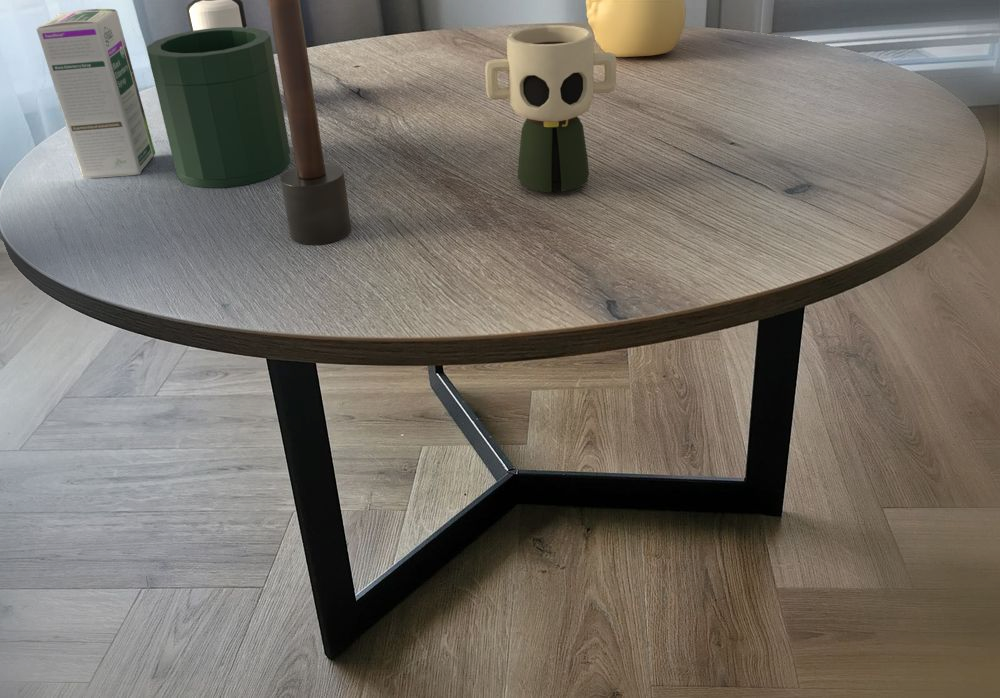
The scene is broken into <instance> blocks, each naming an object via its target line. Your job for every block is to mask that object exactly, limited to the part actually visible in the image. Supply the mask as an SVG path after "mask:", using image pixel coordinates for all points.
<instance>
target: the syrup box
mask: <svg viewBox="0 0 1000 698" xmlns="http://www.w3.org/2000/svg"><path fill="white" fill-rule="evenodd" d="M35 30H36V32H37V35H38V39H39V41H40V45H41V48H42V52H43V54H44V58H45V61H46V65H47V68H48V71H49V74H50V78H51V80H52V84H53V87H54V90H55V93H56V96H57V100H58V104H59V107H60V109H61V112H62V117H63V120H64V122H65V124H66V125H65V126H66V129H67V132H68V136H69V138H70V141H71V145H72V148H73V152H74V154H75V157H76V160H77V163H78V167H79V170H80V174H81V176H82V177H83V178H85V179H86V178H87V179H89V178H90V179H91V178H93V179H94V178H96V179H97V178H98V179H99V178H100V179H101V178H112V177H113V178H115V177H125V176H127V177H128V176H135V175H140V174H142V170H143V169H145V167H146V166H147V165H148V164H149V162H150V161H151V160H152V158H153V157H154V156H155V154H156V150H155V147H154V143H153V139H152V136H151V133H150V128H149V125H148V121H147V117H146V113H145V110H144V105H143V102H142V97H141V95H140V91H139V87H138V84H137V80H136V76H135V72H134V68H133V65H132V61H131V57H130V54H129V50H128V46H127V43H126V39H125V36H124V32H123V28H122V24H121V21H120V18H119V14H118V11H117V10H116V9H113V8H89V9H81V10H80V9H79V10H73V11H67V12H61V13H60V12H59V13H57V14H56V16H55V17H53V18H52V19H50V20H48V21H47V22H45V23H44V24H41V25H39V26H38V27H37V28H36V29H35Z"/></svg>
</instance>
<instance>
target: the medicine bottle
mask: <svg viewBox="0 0 1000 698" xmlns="http://www.w3.org/2000/svg"><path fill="white" fill-rule="evenodd" d="M185 10H186V15H187V19H188V24H189V29H190V31H194V30H202V29H210V28H225V27H245V28H248V24H247V19H246V15H245V7H244V3H243V1H242V0H192V1H190V2H189V3H188V4H187V6H186V8H185Z"/></svg>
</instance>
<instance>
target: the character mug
mask: <svg viewBox="0 0 1000 698" xmlns="http://www.w3.org/2000/svg"><path fill="white" fill-rule="evenodd" d="M594 40H595V38H594V33H593V30H590V29H589V28H586V27H582V26H579V25H578V26H577V25H567V24H545V25H537V26H530V27H529V26H528V27H524V28H521V29H516V30H514V31H512V32H510V33H509V35H508V36H507V37H506V52H507V53H506V55H507V56H506V57H507V58H498V59H496V58H495V59H490V60H488V61H486V63H485V66H484V72H485V73H484V74H485V76H484V77H485V90H486V91H485V92H486V95H487V98H488V99H490V100H495V101H496V100H509V105H510V107H511V109H512V111H513V112H514V114H516V115H517V116H519V117H522V118H524V119H525V121H524V123H523V125H522V128H521V132H520V140H519V141H520V142H519V143H520V144H519V151H518V164H517V179H518V182H519V183H520V185H521V186H522V188H523V187H524V188H526V189H529V190H531V191H535V192H541V193H542V192H543V193H552V183H553V184H558V183H560V185H561V186H560V187H561V192H567V191H568V192H569V191H571V190H575V189H578V188H580V187H582V186H584V185H585V184H586V183H588V181H589V176H590V168H589V158H588V149H587V143H586V137H585V131H584V125H583V123H582V121H581V118H579V116H582V115H584V114H586V113H587V112H589V111H590V109H591V106H592V104H593V101H594V98H595V96H594V94H603V93H604V94H605V93H611V92H613V91H615V89H616V86H617V57H615V54H613V53H605V52H594V45H595V43H594V42H595V41H594ZM602 65H603V66H604V79H603V80H601V81H594V66H602ZM498 72H507V77H508V86H507V87H499V85H498V83H499V82H498Z"/></svg>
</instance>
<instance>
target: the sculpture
mask: <svg viewBox="0 0 1000 698" xmlns="http://www.w3.org/2000/svg"><path fill="white" fill-rule="evenodd" d="M585 5H586V17H587V19H588V25H589V26H590V27H591V31H592V32H593V37H594V40H595V42H596V43H597V45H598V46H599V47H600V49H601V50H602V51H603V53H613V54H615V57H616V58H628V57H631V58H632V57H648V56H650V57H651V56H657V55H663V54H667V53H669V52H670V51H673V49H674V47H676V46H677V44H678V43H679V40H680V38H681V36H682V34H683V31H684V28H685V23H686V15H687V12H686V10H687V9H686V8H687V7H686V2H685V0H585Z"/></svg>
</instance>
